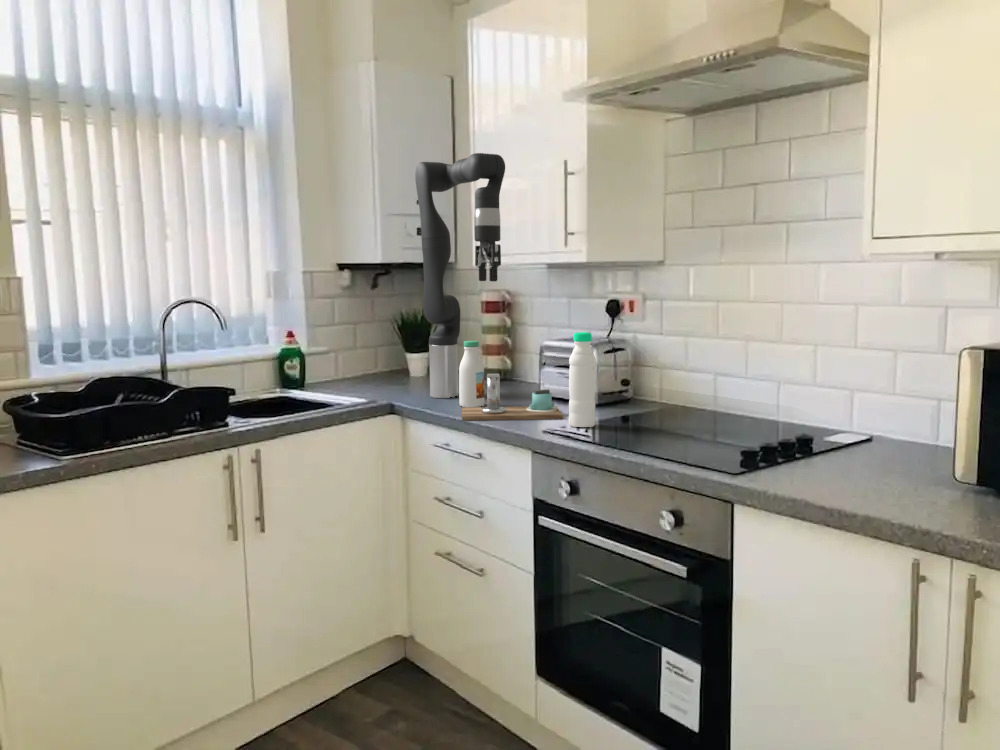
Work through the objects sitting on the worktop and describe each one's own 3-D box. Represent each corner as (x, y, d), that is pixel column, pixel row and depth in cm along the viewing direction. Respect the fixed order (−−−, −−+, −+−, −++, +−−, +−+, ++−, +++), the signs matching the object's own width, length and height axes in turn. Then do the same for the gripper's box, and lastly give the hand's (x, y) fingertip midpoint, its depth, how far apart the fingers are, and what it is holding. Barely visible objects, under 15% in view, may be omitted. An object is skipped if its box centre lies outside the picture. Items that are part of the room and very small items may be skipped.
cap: (548, 406, 233) (548, 388, 232) (557, 409, 228) (557, 390, 227) (526, 408, 230) (526, 389, 230) (534, 411, 225) (534, 392, 224)
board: (462, 411, 234) (462, 406, 234) (556, 410, 236) (556, 404, 235) (462, 420, 220) (461, 414, 220) (562, 419, 222) (562, 413, 221)
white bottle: (594, 429, 208) (594, 333, 204) (567, 428, 209) (567, 333, 206) (596, 423, 215) (597, 331, 211) (570, 423, 216) (570, 331, 213)
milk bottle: (468, 409, 238) (467, 342, 235) (454, 405, 244) (453, 340, 241) (489, 406, 242) (489, 341, 240) (475, 403, 249) (474, 339, 246)
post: (481, 409, 230) (480, 372, 228) (505, 409, 230) (504, 372, 229) (481, 414, 223) (481, 376, 222) (506, 414, 223) (506, 376, 222)
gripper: (509, 223, 224) (509, 281, 226) (490, 226, 237) (490, 280, 239) (484, 223, 221) (484, 281, 223) (466, 225, 234) (467, 281, 237)
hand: (487, 281), depth 231 cm, fingers open, 8 cm apart
